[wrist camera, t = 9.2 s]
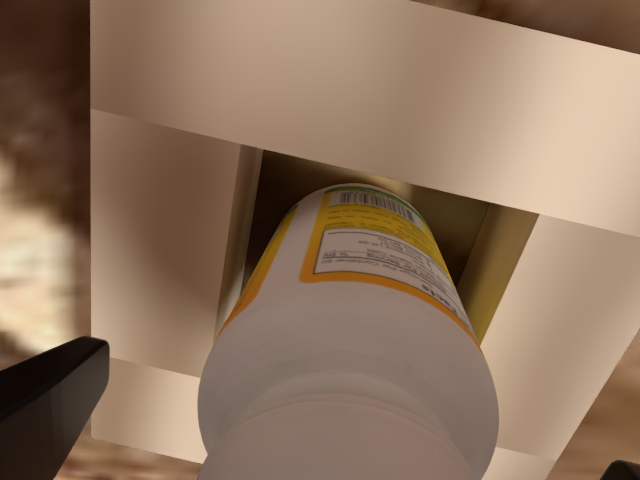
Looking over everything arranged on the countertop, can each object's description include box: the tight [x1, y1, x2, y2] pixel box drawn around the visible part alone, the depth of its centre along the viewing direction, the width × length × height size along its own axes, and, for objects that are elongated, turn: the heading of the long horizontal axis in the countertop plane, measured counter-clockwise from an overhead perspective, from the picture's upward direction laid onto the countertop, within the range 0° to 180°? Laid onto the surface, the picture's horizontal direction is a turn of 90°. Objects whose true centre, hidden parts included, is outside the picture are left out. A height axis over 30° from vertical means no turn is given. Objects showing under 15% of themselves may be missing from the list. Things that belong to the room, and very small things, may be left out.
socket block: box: [90, 0, 640, 480], centre depth 12 cm, size 14×14×3 cm
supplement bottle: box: [197, 183, 499, 480], centre depth 9 cm, size 5×5×10 cm
